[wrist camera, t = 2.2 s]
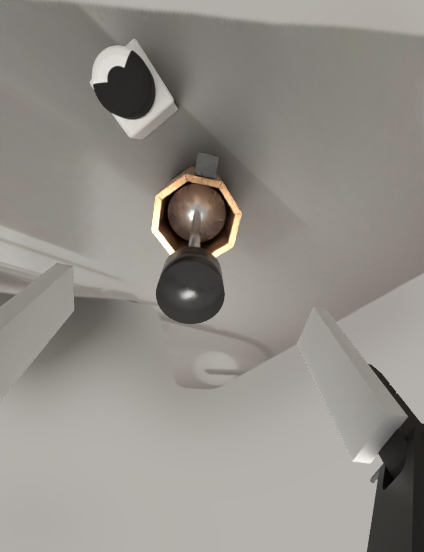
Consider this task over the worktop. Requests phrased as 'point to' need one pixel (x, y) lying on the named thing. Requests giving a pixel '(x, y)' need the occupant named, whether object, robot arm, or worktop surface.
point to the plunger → (193, 257)
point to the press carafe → (207, 176)
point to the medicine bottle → (131, 89)
